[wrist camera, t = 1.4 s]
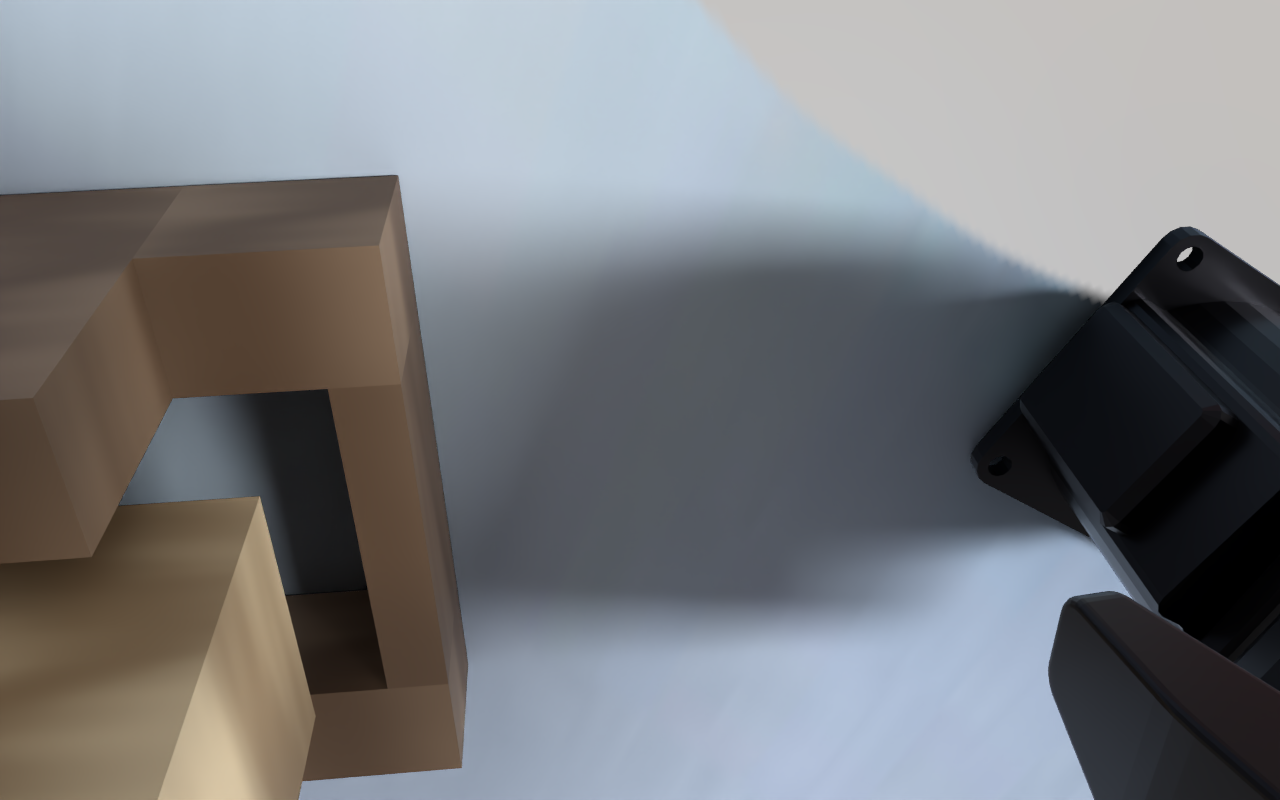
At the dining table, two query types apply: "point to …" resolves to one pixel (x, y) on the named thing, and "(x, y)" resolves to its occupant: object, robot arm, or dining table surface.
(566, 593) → the dining table surface
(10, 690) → the peg
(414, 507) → the socket
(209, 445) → the dining table surface
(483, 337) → the dining table surface
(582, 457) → the dining table surface
